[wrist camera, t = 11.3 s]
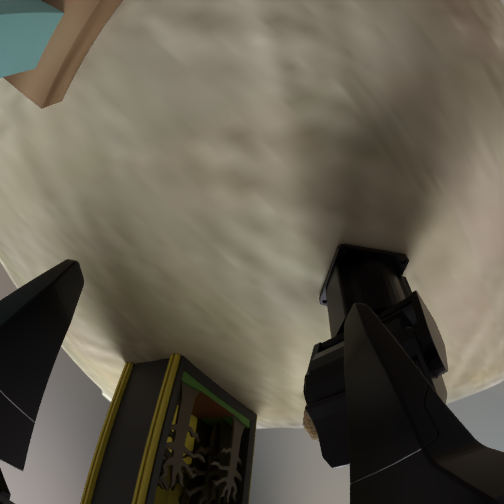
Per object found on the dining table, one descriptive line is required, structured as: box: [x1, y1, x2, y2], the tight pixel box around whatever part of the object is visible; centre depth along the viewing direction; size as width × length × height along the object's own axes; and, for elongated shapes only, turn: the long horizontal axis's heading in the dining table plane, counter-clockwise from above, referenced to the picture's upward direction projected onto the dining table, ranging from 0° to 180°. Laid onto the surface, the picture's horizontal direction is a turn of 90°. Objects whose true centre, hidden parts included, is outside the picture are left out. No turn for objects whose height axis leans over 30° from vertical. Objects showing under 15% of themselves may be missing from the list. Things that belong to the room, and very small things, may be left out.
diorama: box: [80, 353, 257, 504], centre depth 29 cm, size 21×11×30 cm, turn 29°
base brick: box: [3, 0, 122, 109], centre depth 12 cm, size 9×9×2 cm
